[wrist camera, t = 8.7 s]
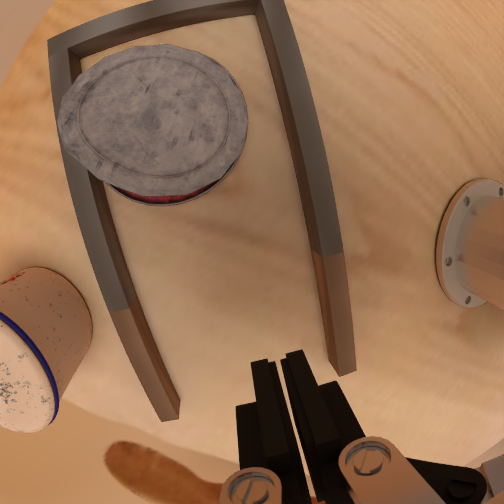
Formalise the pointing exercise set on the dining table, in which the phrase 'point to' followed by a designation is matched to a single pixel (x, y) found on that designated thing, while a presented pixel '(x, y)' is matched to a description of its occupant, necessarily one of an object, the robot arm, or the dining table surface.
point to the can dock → (303, 153)
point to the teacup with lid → (38, 346)
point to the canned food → (155, 123)
